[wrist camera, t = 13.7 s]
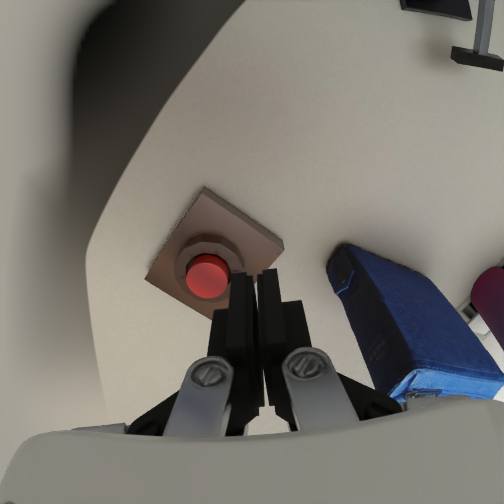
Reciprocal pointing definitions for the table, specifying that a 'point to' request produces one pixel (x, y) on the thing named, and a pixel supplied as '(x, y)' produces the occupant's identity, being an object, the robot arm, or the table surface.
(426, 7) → the bracket
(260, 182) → the table surface
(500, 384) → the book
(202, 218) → the button box
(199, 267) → the button
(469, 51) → the lever
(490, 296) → the cup
